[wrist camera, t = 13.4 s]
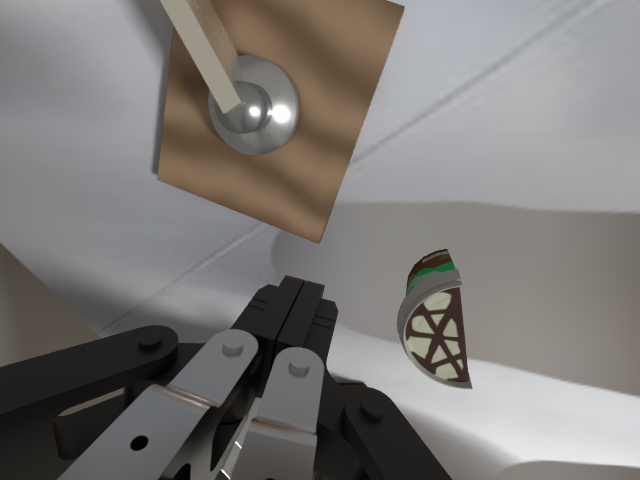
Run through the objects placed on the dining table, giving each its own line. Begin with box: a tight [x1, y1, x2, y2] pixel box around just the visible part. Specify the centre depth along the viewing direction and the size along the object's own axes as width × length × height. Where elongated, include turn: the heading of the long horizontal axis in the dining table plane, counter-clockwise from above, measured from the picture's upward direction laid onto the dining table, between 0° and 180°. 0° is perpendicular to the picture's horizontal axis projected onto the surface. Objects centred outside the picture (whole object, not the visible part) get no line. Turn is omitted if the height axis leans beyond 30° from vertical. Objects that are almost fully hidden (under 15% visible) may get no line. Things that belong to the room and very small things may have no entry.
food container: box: [397, 249, 472, 389], centre depth 35 cm, size 12×6×10 cm, turn 13°
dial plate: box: [157, 0, 405, 244], centre depth 34 cm, size 24×21×2 cm
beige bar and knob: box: [160, 0, 301, 155], centre depth 30 cm, size 18×9×6 cm, turn 28°
